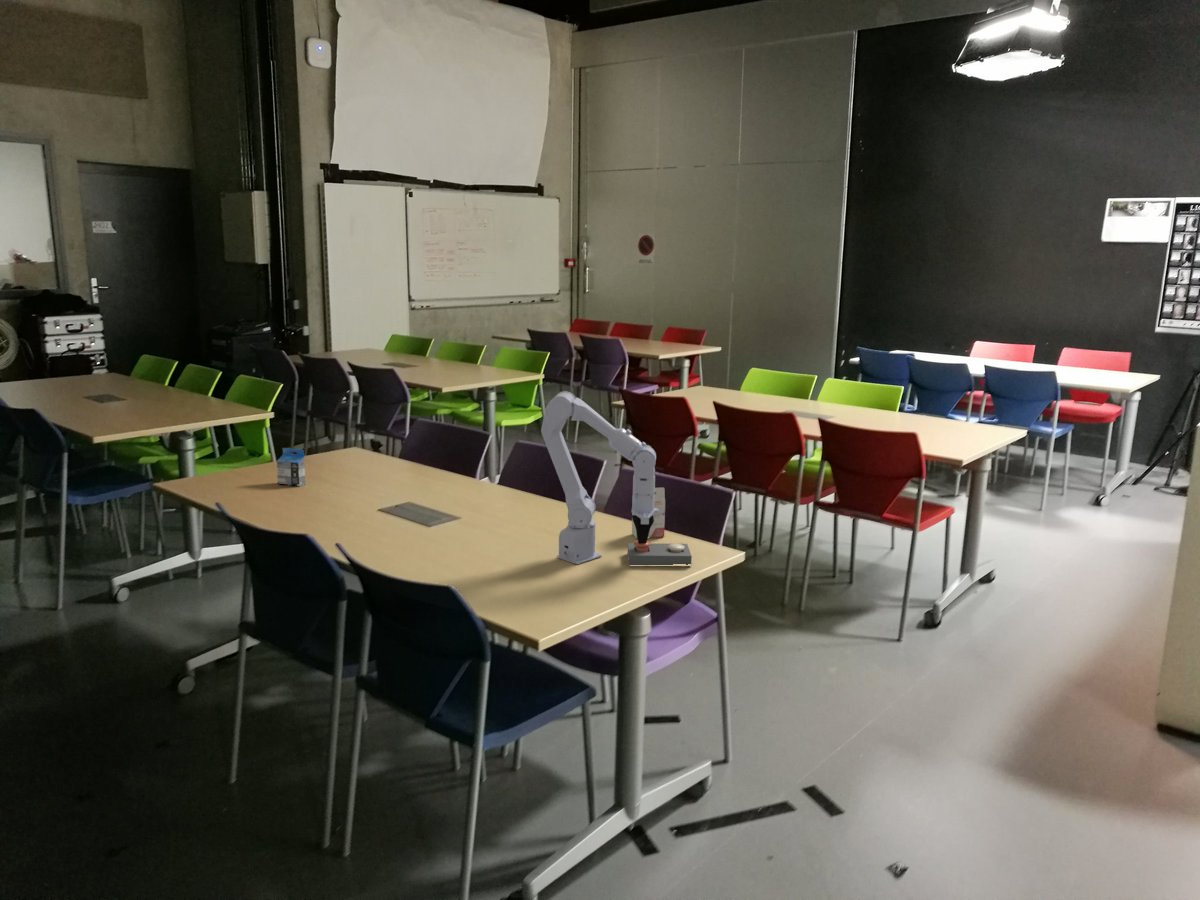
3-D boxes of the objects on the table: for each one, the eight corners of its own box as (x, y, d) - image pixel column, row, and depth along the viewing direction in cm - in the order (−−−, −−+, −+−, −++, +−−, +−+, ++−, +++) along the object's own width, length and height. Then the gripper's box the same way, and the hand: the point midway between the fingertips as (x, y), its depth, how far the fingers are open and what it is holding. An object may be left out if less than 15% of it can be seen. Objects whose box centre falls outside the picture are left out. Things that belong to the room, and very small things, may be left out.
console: (629, 566, 227) (629, 555, 226) (627, 553, 237) (627, 543, 236) (691, 567, 227) (691, 556, 227) (686, 554, 237) (687, 543, 236)
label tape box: (277, 484, 301) (274, 449, 298) (284, 482, 304) (282, 447, 302) (299, 487, 298) (297, 451, 296) (306, 484, 302) (304, 449, 299)
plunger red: (642, 560, 229) (643, 546, 228) (630, 556, 232) (630, 542, 231) (653, 556, 232) (654, 542, 231) (641, 552, 235) (641, 539, 234)
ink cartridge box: (658, 532, 256) (660, 483, 253) (664, 537, 251) (666, 487, 248) (630, 534, 254) (632, 484, 251) (636, 539, 249) (637, 489, 246)
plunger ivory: (676, 564, 229) (677, 550, 228) (663, 560, 232) (664, 546, 231) (687, 560, 232) (687, 546, 231) (674, 556, 235) (675, 542, 234)
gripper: (661, 500, 221) (659, 551, 224) (656, 486, 235) (655, 534, 238) (633, 500, 221) (632, 551, 224) (630, 485, 235) (629, 534, 238)
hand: (642, 542), depth 231 cm, fingers closed, pressing on plunger red
